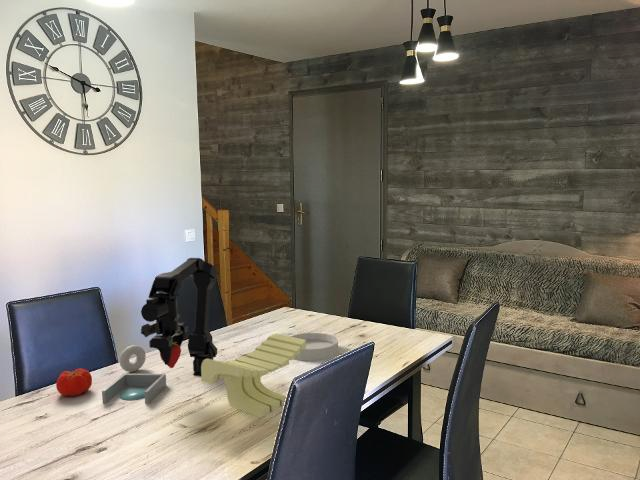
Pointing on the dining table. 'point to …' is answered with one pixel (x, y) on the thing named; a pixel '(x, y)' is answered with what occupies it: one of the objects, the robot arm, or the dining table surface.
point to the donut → (126, 355)
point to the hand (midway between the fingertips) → (170, 360)
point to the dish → (317, 347)
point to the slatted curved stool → (254, 374)
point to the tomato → (74, 382)
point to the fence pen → (152, 380)
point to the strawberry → (174, 355)
